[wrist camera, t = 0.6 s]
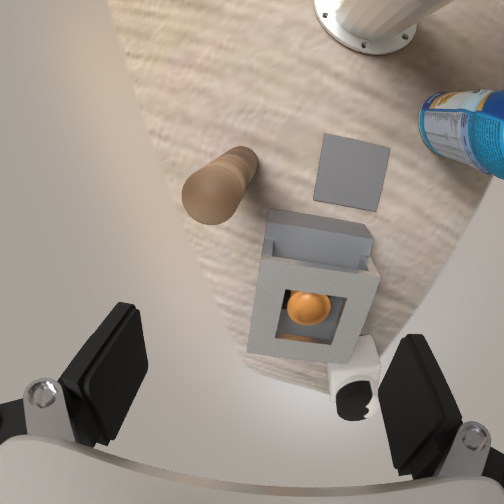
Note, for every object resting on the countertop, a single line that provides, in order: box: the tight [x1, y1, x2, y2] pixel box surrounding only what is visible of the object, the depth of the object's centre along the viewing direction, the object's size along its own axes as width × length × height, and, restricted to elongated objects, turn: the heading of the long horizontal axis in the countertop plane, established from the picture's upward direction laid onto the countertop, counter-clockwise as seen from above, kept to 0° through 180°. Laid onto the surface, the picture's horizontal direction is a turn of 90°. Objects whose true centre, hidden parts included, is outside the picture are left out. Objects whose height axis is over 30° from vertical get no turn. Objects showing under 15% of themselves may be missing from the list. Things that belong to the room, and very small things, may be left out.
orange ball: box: [287, 290, 331, 325], centre depth 36 cm, size 5×5×6 cm
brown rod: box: [182, 146, 258, 225], centre depth 28 cm, size 4×4×16 cm
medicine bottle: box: [327, 335, 381, 421], centre depth 40 cm, size 7×7×12 cm
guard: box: [247, 239, 381, 364], centre depth 34 cm, size 12×12×5 cm
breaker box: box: [264, 208, 374, 339], centre depth 38 cm, size 16×12×5 cm
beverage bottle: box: [419, 89, 504, 179], centre depth 21 cm, size 8×8×20 cm
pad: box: [313, 133, 390, 211], centre depth 34 cm, size 8×8×1 cm
